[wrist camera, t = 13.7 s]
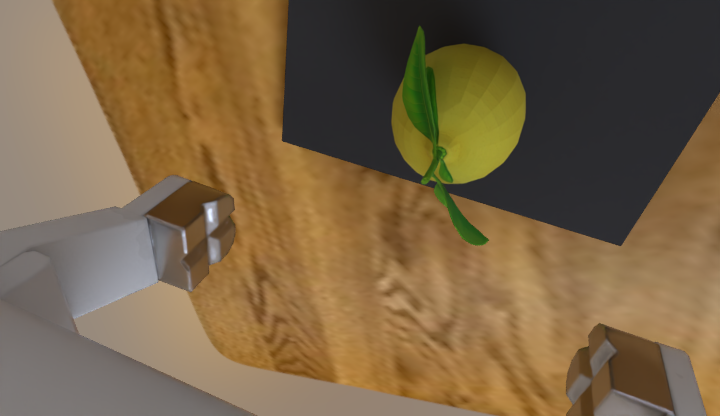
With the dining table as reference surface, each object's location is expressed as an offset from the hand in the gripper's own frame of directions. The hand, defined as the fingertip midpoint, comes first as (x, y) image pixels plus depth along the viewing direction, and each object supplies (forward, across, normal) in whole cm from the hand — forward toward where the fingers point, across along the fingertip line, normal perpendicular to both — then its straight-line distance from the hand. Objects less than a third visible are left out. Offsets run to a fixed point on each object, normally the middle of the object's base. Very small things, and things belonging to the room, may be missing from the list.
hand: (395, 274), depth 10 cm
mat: (+16, 0, +1) cm, 16 cm away
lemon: (+15, 0, +1) cm, 15 cm away
